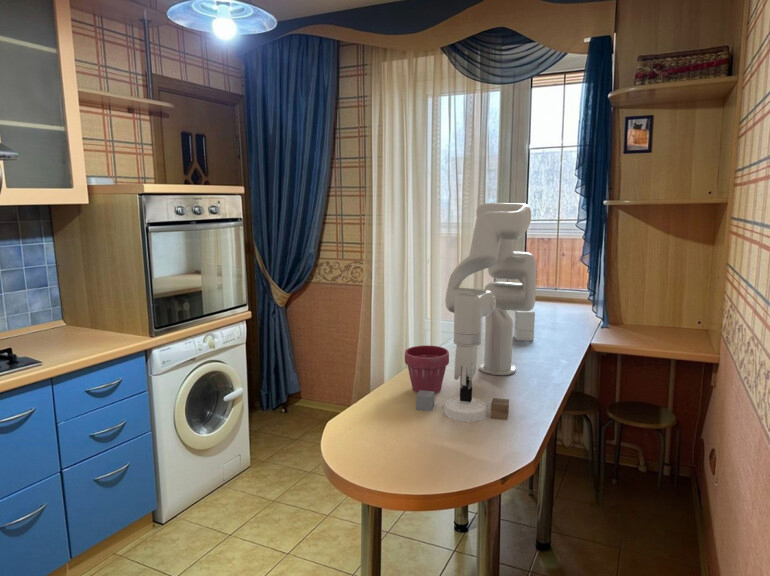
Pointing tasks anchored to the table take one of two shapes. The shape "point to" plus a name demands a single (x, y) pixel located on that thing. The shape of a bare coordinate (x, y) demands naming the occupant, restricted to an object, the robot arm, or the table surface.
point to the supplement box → (524, 325)
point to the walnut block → (500, 408)
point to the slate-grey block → (425, 400)
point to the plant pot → (426, 367)
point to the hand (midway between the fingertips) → (465, 400)
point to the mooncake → (465, 410)
